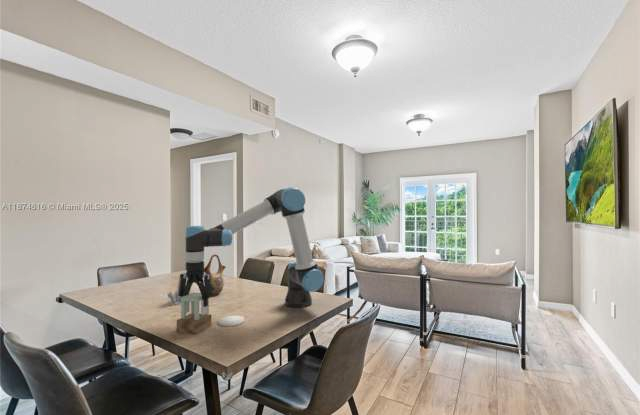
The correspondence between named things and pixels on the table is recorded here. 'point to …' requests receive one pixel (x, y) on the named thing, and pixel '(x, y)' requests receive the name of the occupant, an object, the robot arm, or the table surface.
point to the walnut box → (193, 324)
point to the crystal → (175, 296)
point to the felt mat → (231, 321)
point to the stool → (192, 305)
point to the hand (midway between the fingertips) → (195, 313)
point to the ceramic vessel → (215, 277)
